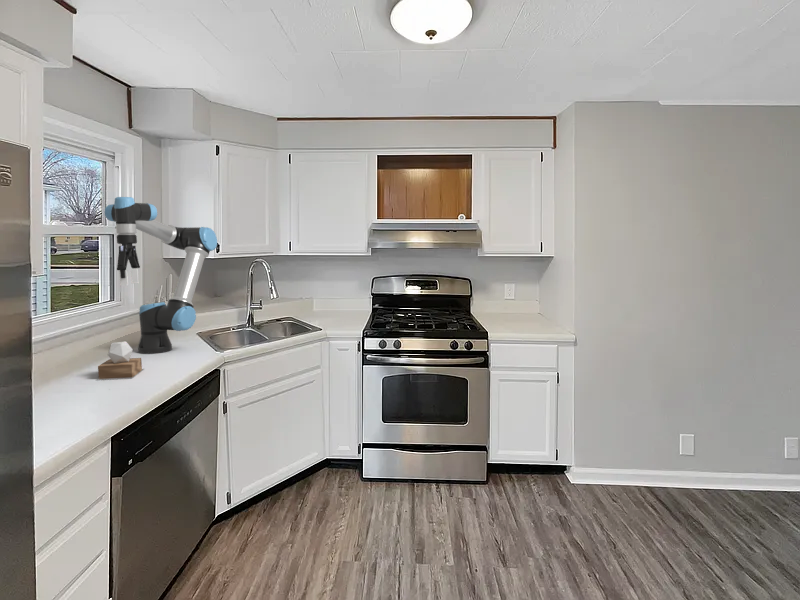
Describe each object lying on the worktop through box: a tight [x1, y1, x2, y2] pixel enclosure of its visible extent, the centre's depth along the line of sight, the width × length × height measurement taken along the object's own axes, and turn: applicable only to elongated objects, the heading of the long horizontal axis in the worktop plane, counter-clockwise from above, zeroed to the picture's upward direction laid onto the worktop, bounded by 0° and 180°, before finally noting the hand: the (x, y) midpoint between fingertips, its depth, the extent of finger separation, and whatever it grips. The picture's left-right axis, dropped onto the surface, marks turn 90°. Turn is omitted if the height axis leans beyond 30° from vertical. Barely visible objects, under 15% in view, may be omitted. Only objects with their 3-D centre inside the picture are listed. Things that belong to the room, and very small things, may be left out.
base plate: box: [95, 368, 145, 382], centre depth 215 cm, size 16×13×1 cm
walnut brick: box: [97, 357, 143, 379], centre depth 215 cm, size 12×12×5 cm
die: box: [107, 341, 134, 363], centre depth 214 cm, size 8×9×10 cm
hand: (129, 284), depth 232 cm, fingers open, 13 cm apart
